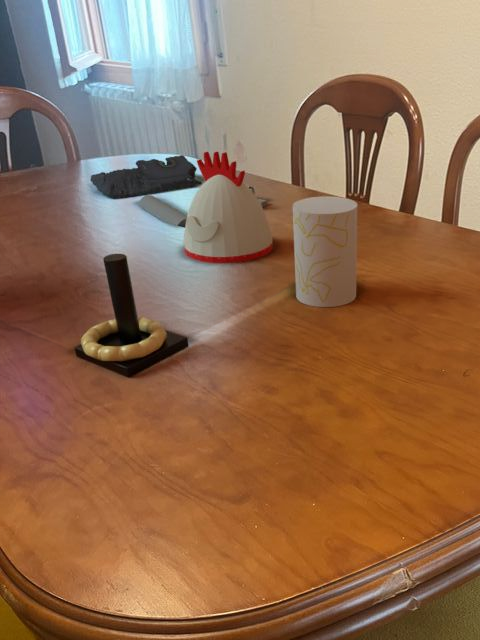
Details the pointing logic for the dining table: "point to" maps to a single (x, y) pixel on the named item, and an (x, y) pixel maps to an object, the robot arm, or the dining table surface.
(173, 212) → the gray half cylinder
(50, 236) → the dining table surface
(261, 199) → the strap clip
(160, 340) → the ring
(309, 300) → the white patterned cylinder
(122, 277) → the post
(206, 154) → the white chicken hat
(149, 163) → the black rough slab
